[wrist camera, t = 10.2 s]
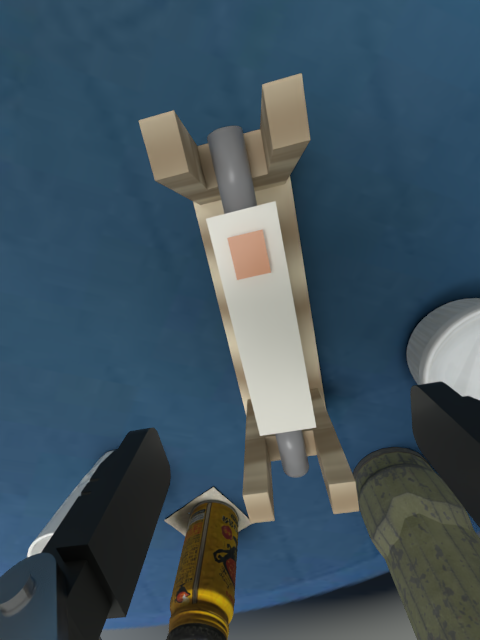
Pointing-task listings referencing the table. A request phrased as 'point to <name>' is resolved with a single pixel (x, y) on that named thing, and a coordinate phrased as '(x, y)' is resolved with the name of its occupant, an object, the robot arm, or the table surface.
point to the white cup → (62, 512)
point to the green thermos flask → (422, 542)
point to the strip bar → (260, 301)
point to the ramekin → (448, 347)
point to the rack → (275, 185)
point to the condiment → (205, 568)
